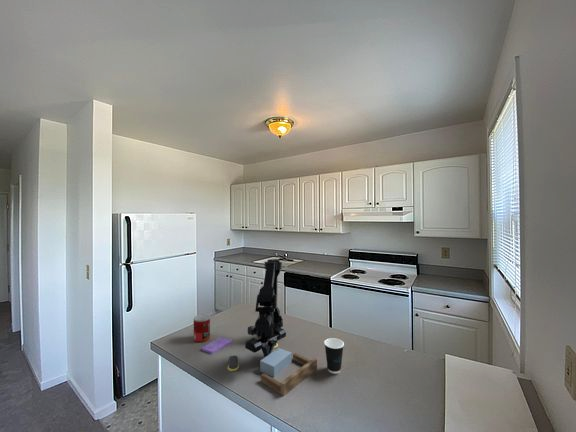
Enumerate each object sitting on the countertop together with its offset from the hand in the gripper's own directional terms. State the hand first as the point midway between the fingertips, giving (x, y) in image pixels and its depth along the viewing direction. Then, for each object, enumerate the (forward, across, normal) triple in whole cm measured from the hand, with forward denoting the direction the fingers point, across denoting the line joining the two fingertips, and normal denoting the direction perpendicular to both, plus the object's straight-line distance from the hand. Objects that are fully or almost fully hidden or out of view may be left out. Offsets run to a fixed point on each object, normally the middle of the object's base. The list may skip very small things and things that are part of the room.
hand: (266, 358), depth 107 cm
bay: (+2, 0, +12) cm, 12 cm away
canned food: (+2, +7, -40) cm, 40 cm away
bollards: (+2, 0, -8) cm, 8 cm away
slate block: (+2, -1, +5) cm, 5 cm away
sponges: (+2, +6, -28) cm, 29 cm away
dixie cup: (+2, -14, +24) cm, 28 cm away
